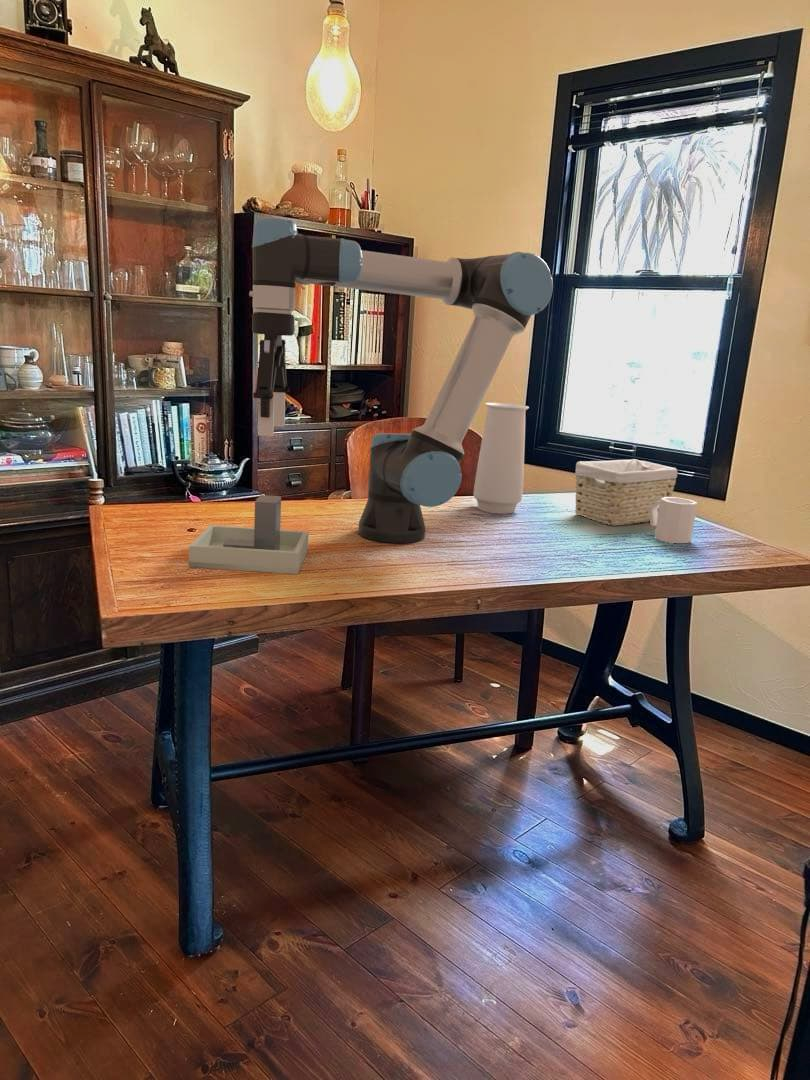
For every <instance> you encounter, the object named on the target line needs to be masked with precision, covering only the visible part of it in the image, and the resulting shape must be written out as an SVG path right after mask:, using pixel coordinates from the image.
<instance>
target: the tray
mask: <svg viewBox="0 0 810 1080" xmlns="http://www.w3.org/2000/svg"><path fill="white" fill-rule="evenodd" d="M228 539H236V540H251V541H254V527H248V526H247V527H245V526H235V525H220V524H219V525H218V524H209V525H208V526H207V527H206V528H205V529H204V530H203V531H202V532H201V533H200V534H199V535H198V536H197V537H196V538H195V539H194V540H193V541H192V542H191V543H190V544H189V546H188V567H189V568H198V569H199V568H201V569H202V568H203V569H215V570H230V571H242V572H243V571H245V572H259V573H260V572H261V573H274V574H275V573H277V574H292V575H293V574H294V575H298V574H299V572H300V569H301V567H302V565H303V563H304V561H305V558H306V556H307V553H308V551H309V531H307V530H294V529H291V530H290V529H280V551H279V550H264V549H249V548H234V547H223V544H224V543H225V542H226V541H227V540H228Z"/></svg>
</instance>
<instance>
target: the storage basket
mask: <svg viewBox="0 0 810 1080" xmlns="http://www.w3.org/2000/svg"><path fill="white" fill-rule="evenodd" d="M677 478H678V469H677V468H676V467H672V466H667V465H664V464H663V465H662V464H659V463H654V462H651V461H646V460H639V459H636V458H631V459H616V460H590V461H589V460H588V461H586V460H585V461H583V460H580V461H577V462H576V464H575V514H576V515H577V514H578V515H577V516H579V515H581V516H580V517H582V516H584V517H583V518H585V517H587V518H586V519H589V520H591V519H592V521H594V520H596V521H595V522H597V521H599V522H598V523H600V522H602V524H604V525H606V524H608V525H607V526H616V527H618V526H617V525H621V526H622V525H623V526H626V525H634V524H633V523H635V524H641V523H640V522H644V523H650V522H649V521H650V510H649V508H650V507H651V506H652V505H653V504H654V503H655V502H657V501H658V500H660V499H661V498H664V497H673V491H674V489H675V485H676V481H677ZM658 511H659V508H658V509H657V512H658Z"/></svg>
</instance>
